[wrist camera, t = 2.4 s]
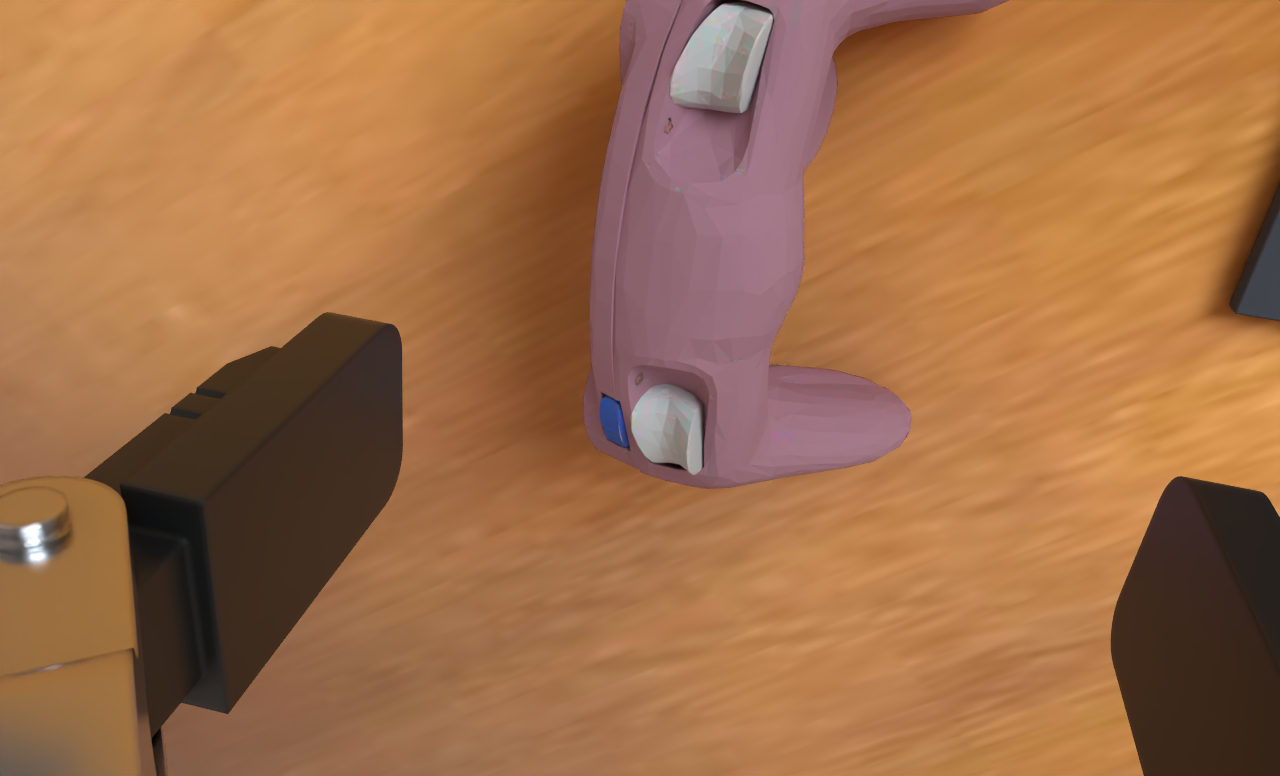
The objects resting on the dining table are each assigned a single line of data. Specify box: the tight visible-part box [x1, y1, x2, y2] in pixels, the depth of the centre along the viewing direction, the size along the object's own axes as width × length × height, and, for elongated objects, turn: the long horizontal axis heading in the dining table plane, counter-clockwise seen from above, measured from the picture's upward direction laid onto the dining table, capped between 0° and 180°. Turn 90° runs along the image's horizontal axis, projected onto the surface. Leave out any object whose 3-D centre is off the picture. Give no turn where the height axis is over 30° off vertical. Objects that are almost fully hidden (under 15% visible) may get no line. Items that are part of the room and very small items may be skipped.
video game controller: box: [583, 0, 1009, 489], centre depth 17 cm, size 10×5×7 cm, turn 174°
